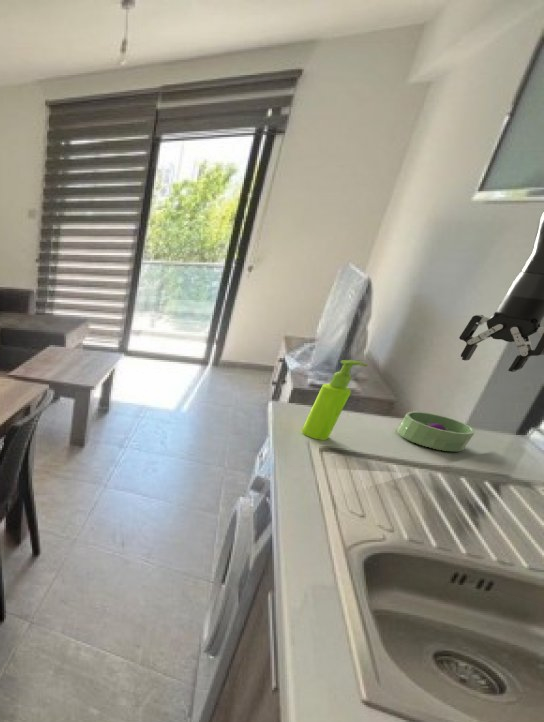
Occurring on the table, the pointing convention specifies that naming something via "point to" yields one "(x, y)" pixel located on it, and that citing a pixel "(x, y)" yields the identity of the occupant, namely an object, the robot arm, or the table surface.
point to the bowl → (435, 431)
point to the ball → (437, 426)
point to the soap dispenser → (329, 403)
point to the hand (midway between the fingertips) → (488, 365)
